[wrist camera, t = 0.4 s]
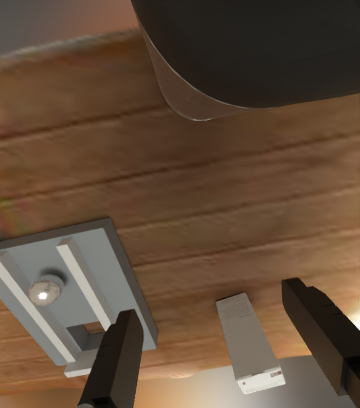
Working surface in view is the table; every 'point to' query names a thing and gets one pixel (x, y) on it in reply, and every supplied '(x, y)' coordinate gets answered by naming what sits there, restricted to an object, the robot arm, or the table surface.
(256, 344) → the skincare box
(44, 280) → the steel ball
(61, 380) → the table surface
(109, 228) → the slate board
